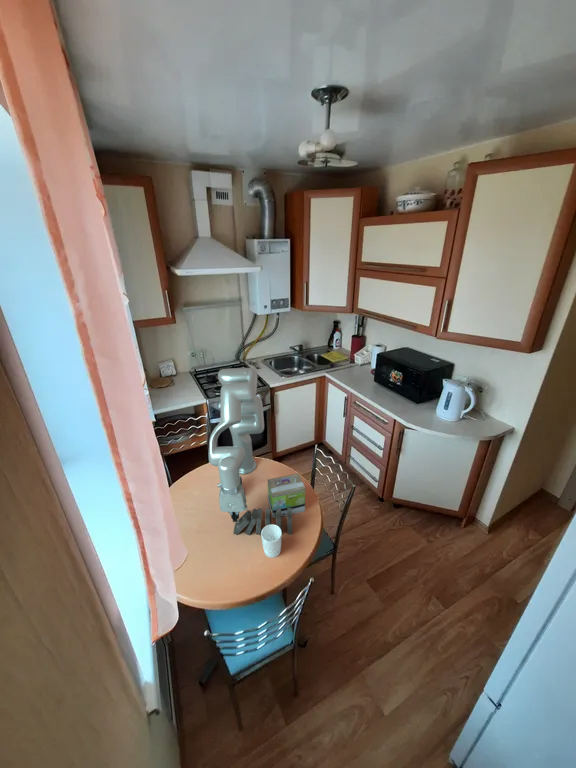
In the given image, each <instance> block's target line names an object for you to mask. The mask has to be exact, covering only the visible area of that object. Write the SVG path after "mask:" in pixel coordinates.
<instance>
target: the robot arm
mask: <svg viewBox="0 0 576 768" xmlns="http://www.w3.org/2000/svg"><path fill="white" fill-rule="evenodd" d="M217 377H218V378H217V379H218V382H219V383H220V384H221V385H222V386H221V388H220V420H219V422H218V423H217V424H216V426H215V427H214V429H213V430H212V432H211V433H210V434H211V435H210V437H209V443H208V445H209V447H208V460H209V463H210V464H211V466H213V467H217V468H218V475H219V483H217V488H219V496H218V497H219V509H220V511H221V512H224V513H228V514H229V515H230V517H231V518H230V519H232V522H233V523H236V522H237V521H238V520H239V519H240V513H243V512H244V511H248V505H247V498H246V492H245V489H244V486H243V487H242V485H241V483H240V476H241V475H247V474H251V473H252V472H254V471H255V470H256V468H257V461H256V460H255V459H254V456H253V455H254V454H253V446H252V445H253V443H252V438H251V435H257V434H262V433H263V432H264V430H265V418H264V406H263V401H262V398H261V397H260V396H258V395H257V390H258V389H257V386H258V372H257V370H256V369H255V368H254V367H241V368H240V367H237V368H235V367H233V368H223V369H222V368H221V369H220V370H219V371H218V373H217ZM228 428H229V431H230V434H231V438H232V446H231V445H230V446H229V445H227V446H218V438H219V437H220V435H221V433H223V432H224V431H225V430H227V429H228ZM239 474H240V475H239ZM220 488H221V489H220Z"/></svg>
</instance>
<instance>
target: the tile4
mask: <svg viewBox="0 0 576 768" xmlns="http://www.w3.org/2000/svg"><path fill="white" fill-rule="evenodd" d="M275 521H276V524H275V525H277V526H278V527H279V528H280V529H281V532H282V526H283V523H282V522H283V521H282V516H281V508H277V511H276V518H275Z"/></svg>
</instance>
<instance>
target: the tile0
mask: <svg viewBox="0 0 576 768" xmlns="http://www.w3.org/2000/svg"><path fill="white" fill-rule="evenodd" d="M251 514H252V511H251V510H249V509H247V510H246V512H245V513H243V514H242V516H241V517H239V519H238V520H237V522H234V528H233V533H232V534H233V535H235V536H238V535H239V534H240V533H241V532H242V530H244V529H246V526H247V525H248V524H249V523H250V520H251Z"/></svg>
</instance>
